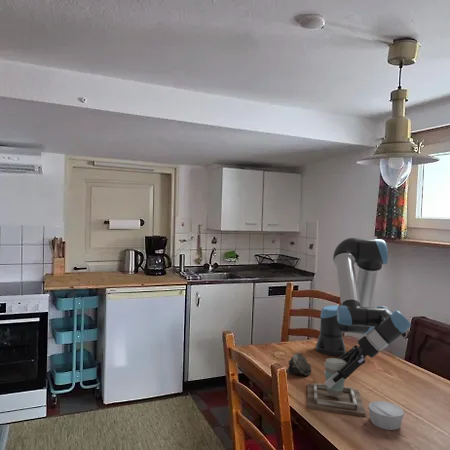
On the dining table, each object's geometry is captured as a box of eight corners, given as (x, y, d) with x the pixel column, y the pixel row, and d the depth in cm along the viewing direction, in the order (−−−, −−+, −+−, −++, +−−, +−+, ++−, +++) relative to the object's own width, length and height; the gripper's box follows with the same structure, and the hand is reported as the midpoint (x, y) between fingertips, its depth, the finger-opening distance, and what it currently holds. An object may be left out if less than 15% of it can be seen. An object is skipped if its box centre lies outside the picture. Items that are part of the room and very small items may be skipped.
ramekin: (364, 425, 133) (364, 409, 133) (372, 412, 142) (372, 397, 142) (399, 436, 127) (400, 420, 127) (405, 422, 136) (406, 407, 136)
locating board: (307, 385, 162) (307, 379, 162) (358, 392, 158) (358, 385, 158) (307, 408, 143) (307, 401, 143) (365, 416, 139) (365, 409, 139)
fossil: (311, 378, 169) (301, 356, 170) (291, 385, 171) (281, 363, 172) (312, 368, 179) (303, 347, 180) (294, 374, 182) (285, 354, 182)
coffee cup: (323, 395, 147) (324, 363, 147) (323, 386, 155) (324, 356, 155) (347, 399, 145) (348, 366, 145) (345, 389, 153) (347, 358, 153)
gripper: (385, 361, 136) (335, 400, 140) (374, 342, 157) (331, 377, 161) (369, 344, 137) (320, 384, 141) (361, 328, 158) (318, 362, 162)
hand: (326, 380), depth 151 cm, fingers closed on coffee cup, 8 cm apart
